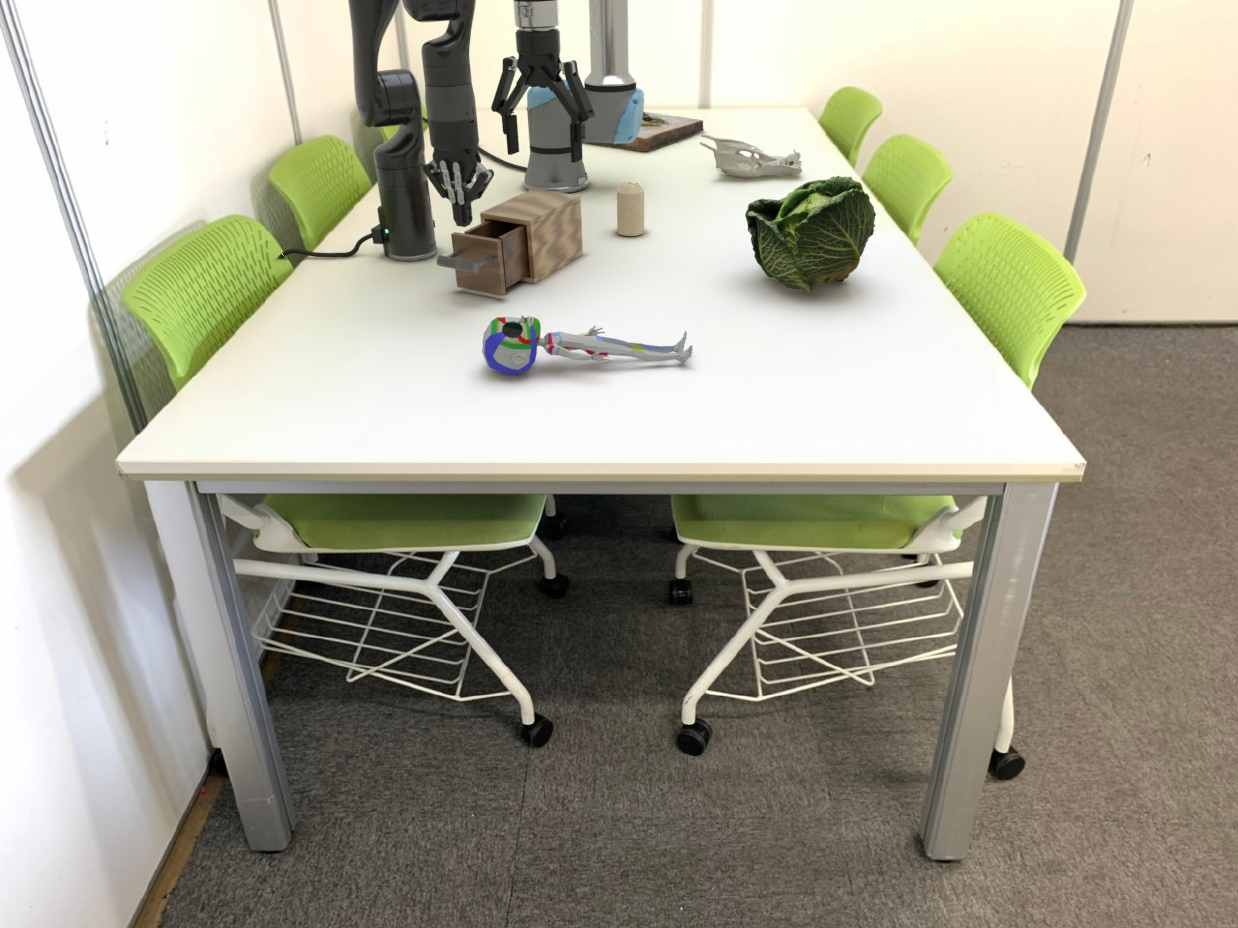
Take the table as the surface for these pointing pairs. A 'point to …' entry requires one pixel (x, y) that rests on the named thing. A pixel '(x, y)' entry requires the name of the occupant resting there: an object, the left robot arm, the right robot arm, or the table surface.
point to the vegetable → (812, 232)
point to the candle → (630, 209)
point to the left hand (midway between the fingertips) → (463, 225)
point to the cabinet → (544, 228)
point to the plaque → (660, 131)
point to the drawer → (489, 256)
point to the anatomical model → (751, 160)
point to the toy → (561, 345)
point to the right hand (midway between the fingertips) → (544, 157)
